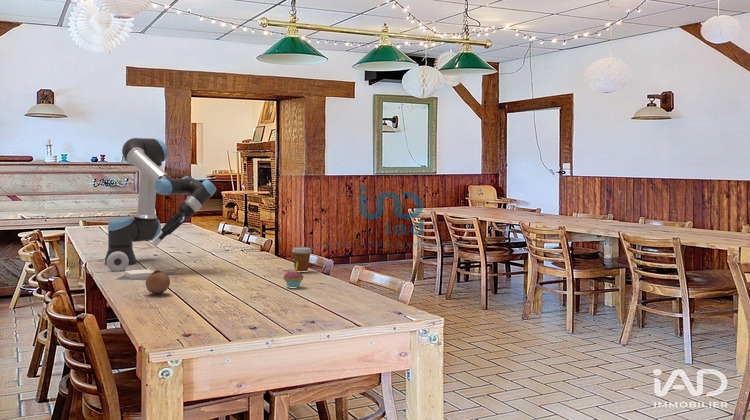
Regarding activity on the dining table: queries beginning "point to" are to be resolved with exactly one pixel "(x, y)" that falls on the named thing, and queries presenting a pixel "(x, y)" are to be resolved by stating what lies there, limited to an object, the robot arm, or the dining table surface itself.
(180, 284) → the dining table surface
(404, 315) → the dining table surface
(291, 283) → the cupcake
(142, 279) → the mat
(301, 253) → the disposable coffee cup
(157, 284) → the onion
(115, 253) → the donut
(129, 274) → the board
